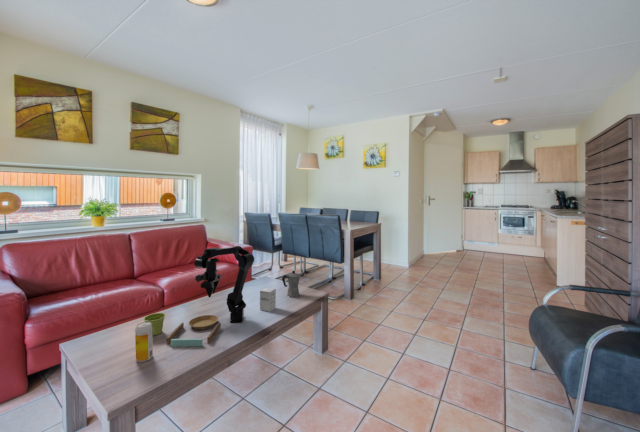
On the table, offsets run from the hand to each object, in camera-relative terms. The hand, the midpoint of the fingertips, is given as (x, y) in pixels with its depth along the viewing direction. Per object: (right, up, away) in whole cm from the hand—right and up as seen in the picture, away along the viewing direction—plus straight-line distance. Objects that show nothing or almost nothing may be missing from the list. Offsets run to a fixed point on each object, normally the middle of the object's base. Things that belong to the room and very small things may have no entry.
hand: (211, 295), depth 161 cm
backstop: (+2, -14, -34) cm, 36 cm away
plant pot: (-20, -13, -22) cm, 33 cm away
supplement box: (+31, -12, +11) cm, 35 cm away
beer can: (-11, -15, -44) cm, 48 cm away
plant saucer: (+1, -13, -12) cm, 18 cm away
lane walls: (+1, -13, -24) cm, 28 cm away
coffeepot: (+44, -11, +35) cm, 57 cm away
